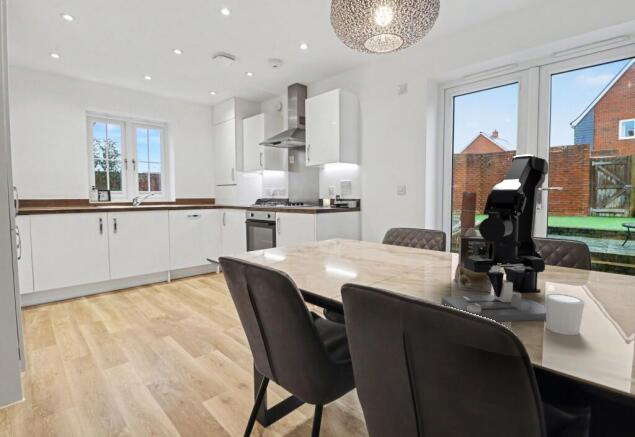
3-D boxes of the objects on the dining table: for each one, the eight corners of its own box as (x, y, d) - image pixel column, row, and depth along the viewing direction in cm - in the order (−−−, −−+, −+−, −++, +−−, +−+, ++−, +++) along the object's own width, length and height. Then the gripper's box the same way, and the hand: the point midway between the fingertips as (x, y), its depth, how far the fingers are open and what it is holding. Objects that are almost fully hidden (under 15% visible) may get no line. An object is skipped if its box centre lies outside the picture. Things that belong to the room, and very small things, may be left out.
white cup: (535, 324, 74) (537, 293, 74) (564, 322, 75) (565, 292, 75) (560, 337, 68) (562, 303, 67) (591, 335, 68) (593, 302, 68)
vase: (477, 284, 106) (479, 191, 104) (452, 281, 110) (454, 191, 108) (479, 277, 116) (481, 191, 113) (456, 274, 119) (458, 191, 117)
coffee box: (458, 289, 101) (460, 237, 100) (457, 284, 107) (458, 235, 106) (492, 292, 98) (494, 238, 97) (488, 286, 104) (490, 236, 103)
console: (518, 299, 91) (519, 287, 91) (559, 318, 77) (560, 304, 77) (441, 302, 89) (441, 289, 89) (469, 322, 76) (469, 307, 75)
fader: (502, 297, 88) (502, 278, 88) (512, 301, 84) (512, 282, 84) (493, 297, 88) (494, 278, 87) (503, 302, 84) (503, 282, 83)
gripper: (517, 232, 93) (515, 286, 95) (454, 233, 92) (453, 288, 93) (548, 237, 82) (545, 298, 84) (476, 239, 81) (475, 301, 82)
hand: (502, 296), depth 86 cm, fingers closed on fader, 2 cm apart
